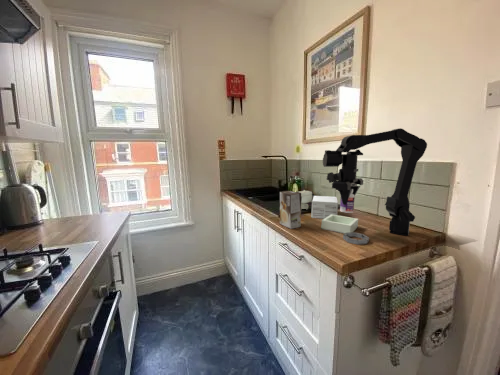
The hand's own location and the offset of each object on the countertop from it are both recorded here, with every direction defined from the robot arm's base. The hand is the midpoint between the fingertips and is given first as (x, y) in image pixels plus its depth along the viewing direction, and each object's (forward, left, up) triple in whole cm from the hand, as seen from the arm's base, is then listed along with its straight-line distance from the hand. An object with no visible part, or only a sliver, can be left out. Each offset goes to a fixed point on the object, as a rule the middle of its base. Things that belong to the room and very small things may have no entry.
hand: (347, 203), depth 93 cm
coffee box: (+24, +6, -13) cm, 28 cm away
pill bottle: (0, 0, -4) cm, 4 cm away
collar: (-6, +6, -13) cm, 15 cm away
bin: (+4, -4, -13) cm, 14 cm away
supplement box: (+18, -22, -13) cm, 31 cm away
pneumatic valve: (+32, -26, -13) cm, 43 cm away
